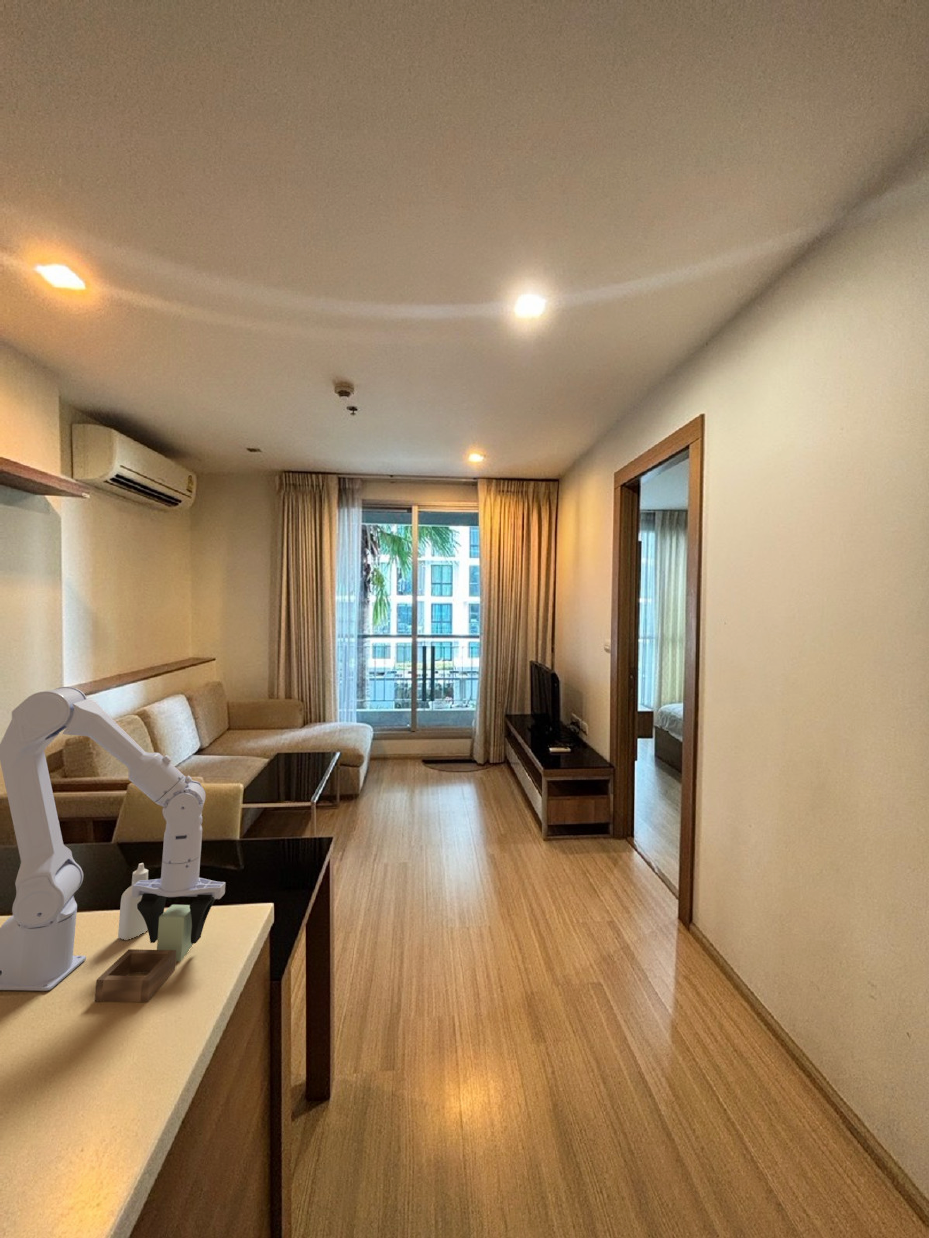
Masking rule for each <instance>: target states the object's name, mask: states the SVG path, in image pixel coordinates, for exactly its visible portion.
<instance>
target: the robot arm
mask: <svg viewBox="0 0 929 1238" xmlns="http://www.w3.org/2000/svg"><path fill="white" fill-rule="evenodd" d="M60 733H62V735H67V736H77V737H78V736H79V737H80V736H81V737H88V738H90V739H91V740H92V741H94V742H95V743H96V744H97V745H98V746H100V747H101V748H102V749H104V750H105V751H106V752H108V753H109V754H110V755H111V756H112V757H114V758H115V759H116V760H118V761H119V762H120V763H122V764H123V765H124V766H125V767H126V768H127V769H128V776H127V778H128V780H129V781H130V782H131V784H133V785H134V786H135V787H136V788H138V789H139V790H140V791H141V792H142V794H144V795H145V796H147V797H148V798H149V800H151V801H152V802H154V803H155V804H156V805H157V806H158V805H159V806H160V807H163V808H162V810H161V811H162V816H163V819H164V820H165V821H166V824H165V830H164V833H163V834H164V835H163V847H162V848H163V849H162V857H161V858H162V859H161V872H160V873H161V874H160V878H155V879H148V880H140V881H138V882H137V883H136V884H134V885H133V890H132V897H139V896H140V895H142V898H141V901H140V902H139V903H138V904H137V909H138V910H139V911H140V913H141V914H142V916H143V918H144V920H145V923H146V925H147V929H148V931H147V933H148V937H149V942H150V944H155V943H157V940H158V926H159V917H160V916H161V915H162V914H163V913H164V912H165V907H166V903H167V902H166V901H167V898H177V897H196V899H194V900H193V901H192V902H191V903H190V904H189V905H190V911H191V919H192V928H191V944H193V945H194V944H196V943H198V941H200V939H201V936H202V934H203V929H204V925H205V923H206V920H207V917H208V915H209V912H210V911H211V908H212V906H213V905H214V903H215V901H216V900H221V898H222V897H223V896H224V895H225V893H226V883H227V882H225V881H216V880H211V879H209V878H208V879H207V878H203V877H200V870H201V869H200V867H201V855H202V853H201V852H202V841H203V839H202V838H203V826H202V824H203V816H202V815H203V811H204V804H205V802H206V799H207V798H206V796H207V795H206V790H205V789H204V786H202V784H201V782H200V781H197V780H193V778H192V777H191V776H190V775H187V776H186V775H184V773H183V772H181V771H180V770H179V769H178V768H177V767H176V766H175V765H173V764H172V763H171V762H172V761H173V758H172V757H171V756H170V755H168V754H165V755H162V753H160V752H147V751H146V750H145V749H143V747H141V746H140V744H138V743H137V742H136V741H135V740H134V738H132V737H131V736H130V735H129V734H128V733H127V732H126V731H125V730H124V729H123V727H121V726H120V725H119V724H118V723H117V722H116V721H115V720H114V719H113V718H112V717H111V716H110V715H109V714H108V713H107V712H106V711H105V710H104V709H103V708H102V707H101V706H100V705H99V704H98V702H96V701H94V700H93V699H91V698H87V696H86V694H85V693H84V692H83V691H82V690H80V689H79V688H76V687H73V686H60V687H58V688H54V689H52V690H51V689H50V690H44V691H38V692H35V693H33V694H31V695H29V696H28V697H26V698H25V699H24V700H23V701H21V703H20V704H18V705H17V706H16V707H15V708H14V709H13V710H12V711H11V720H10V722H9V724H8V727H7V728H6V729H5V732H4V735H3V737H2V740H0V767H1V771H2V776H3V780H4V785H5V790H6V791H5V792H6V796H7V800H8V806H9V811H10V815H11V819H12V824H13V829H14V834H15V839H16V844H17V849H18V853H19V858H20V866H19V869H18V872H17V876H16V879H15V882H14V883H15V884H14V885H15V890H16V891H15V892H16V895H15V899H14V901H13V903H12V909H11V913H12V915H11V916H10V917H8V918H7V919H6V920H5V921H4V922H3V923H2V924H1V926H0V991H40V992H43V991H45V992H46V991H50V990H52V989H54V987H56V986H57V985H58V984H59V983H60V982H61V981H63V980H64V979H65V978H66V977H67V976H68V975H69V974H70V973H72V972H73V971H74V970H75V969H76V968H77V967H79V966H80V965H81V964H82V963H83V962H85V961H86V960H87V956H86V955H74V948H75V939H76V938H75V937H76V936H75V935H76V925H77V924H76V923H77V912H78V903H77V902H76V900H75V899H76V898H75V893H76V892H77V891H78V890H79V888H80V887H81V886H82V884H83V881H84V871H83V870H82V867H81V866H80V865H79V864H78V863H77V862H76V861H75V859H74V858H73V852H72V850H71V849H70V848H68V847H67V846H66V845H65V844H64V841H63V835H62V831H61V827H60V821H59V817H58V811H57V807H56V801H55V796H54V792H53V788H52V782H51V777H50V773H49V768H48V762H47V758H46V753H45V750H46V749H47V747H48V746H49V745H50V744H51V743H52V742H53V741H54V740H55V739H56V738H57V737H58V735H60Z"/></svg>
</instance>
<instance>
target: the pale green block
mask: <svg viewBox="0 0 929 1238" xmlns="http://www.w3.org/2000/svg"><path fill="white" fill-rule="evenodd" d="M191 928H192V919H191V911H190V904H171V905H170V906H169V907H168V908H167V909H166V910H164V913H163V914H162V915H161V916H160V917H159V926H158V940H157V941H156V943H157V944H156V950H176V962H182V961H183V960H184V958H185V957H186V956H187V955H186V954H188V953H189V952H190V951H189V949H190V948H191V947H192V945H193V946H194V944H191ZM192 948H193V947H192ZM188 951H189V952H188ZM187 952H188V953H187ZM185 955H186V956H185ZM184 956H185V957H184Z"/></svg>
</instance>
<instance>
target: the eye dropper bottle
mask: <svg viewBox="0 0 929 1238" xmlns="http://www.w3.org/2000/svg"><path fill="white" fill-rule="evenodd" d="M131 875H132V878H131V885H130V886H129V887H128V888H127V889H125V891H123V893H122V895H121V898H120V907H119V908H120V909H119V920H118V932H117V937H118V939H120V938H121V939H120V940H123V939H124V940H123V941H128V940H127V939H130V938H133V939H135V938H134V937H136V936H138V935H140V934H142V933H144V932H145V931H147V930H148V929H147V925H146V923H145V920H144V918H143V916H142V914H141V913H140V911H139V910H138V909H137V904H138V903H139V902H140V901H141V898H142V895H140V896H139V897H132V890H133V885H134V884H136V883H137V882H138V881H140V880H149V869H147V868H145V864H144V862H141V863H138V866H137V869H136V870H134V871H132V874H131ZM147 932H148V931H147ZM145 933H146V932H145ZM145 933H144V934H145ZM142 935H143V934H142ZM140 936H141V935H140ZM138 937H139V936H138ZM136 938H137V937H136ZM130 940H131V939H130Z"/></svg>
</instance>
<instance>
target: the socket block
mask: <svg viewBox="0 0 929 1238" xmlns="http://www.w3.org/2000/svg"><path fill="white" fill-rule="evenodd" d="M176 963H177V961H176V950H157V949H138V948H137V949H135V948H133V949H127V950H126V951H125V952H124V953H123V954H122V955H121V956H120V957H119V958H118V959H116V960H115V962H113V964H111V965H110V966H109V967H108V968H107V969H106V970H105V971H104V972H103V973H102V974H101V975H100V976H99V977H98V978H97V979H96V980H95V981H96V982H95V992H94V1002H103V1003H104V1002H105V1003H106V1002H111V1003H113V1002H115V1003H116V1002H117V1003H119V1002H121V1003H122V1002H123V1003H125V1002H126V1003H149V1001H150V1000H151V999H152V997H153V996H154V995H155V994H156V992H158V990H160V988H161V987H162V986H163V984H164V983H165V982H166V981H167V980H168V978H170V976H171V975H172V974H173V973H174V971H175V970H176ZM129 974H146V975H129Z"/></svg>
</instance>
